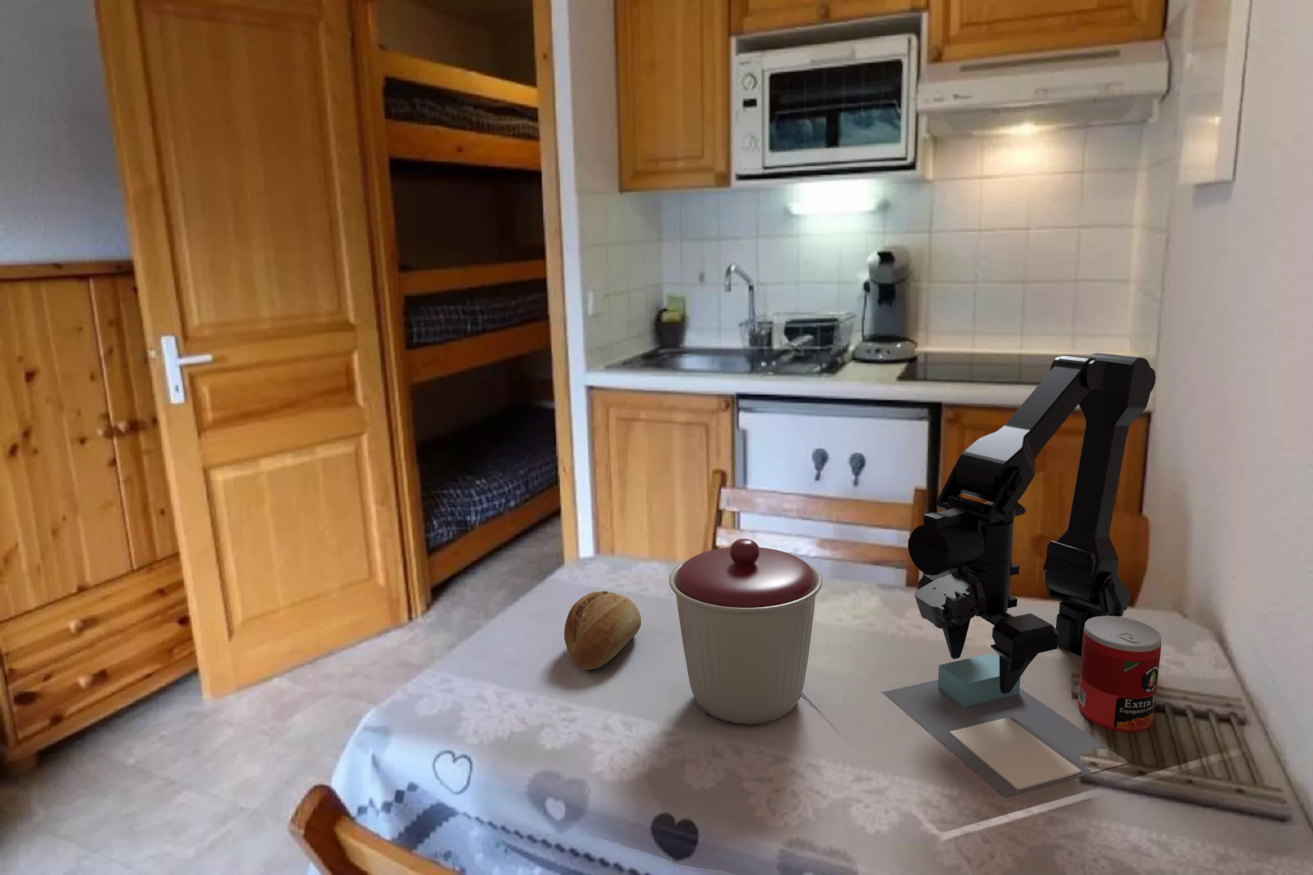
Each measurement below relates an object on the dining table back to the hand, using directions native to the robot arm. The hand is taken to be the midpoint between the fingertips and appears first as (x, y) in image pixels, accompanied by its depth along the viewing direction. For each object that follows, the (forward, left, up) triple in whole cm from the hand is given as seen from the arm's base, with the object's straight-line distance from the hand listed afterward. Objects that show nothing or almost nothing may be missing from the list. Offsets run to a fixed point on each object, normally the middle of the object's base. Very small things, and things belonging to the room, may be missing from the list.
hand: (979, 674), depth 106 cm
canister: (+27, -9, -3) cm, 29 cm away
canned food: (-11, +10, -3) cm, 15 cm away
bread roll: (+40, -29, -3) cm, 49 cm away
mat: (+3, +7, -3) cm, 8 cm away
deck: (0, 0, -2) cm, 2 cm away
